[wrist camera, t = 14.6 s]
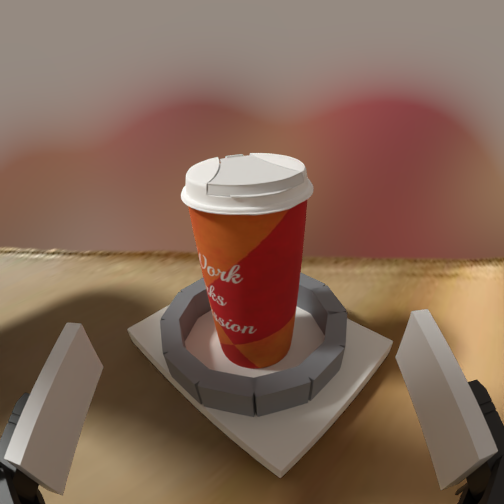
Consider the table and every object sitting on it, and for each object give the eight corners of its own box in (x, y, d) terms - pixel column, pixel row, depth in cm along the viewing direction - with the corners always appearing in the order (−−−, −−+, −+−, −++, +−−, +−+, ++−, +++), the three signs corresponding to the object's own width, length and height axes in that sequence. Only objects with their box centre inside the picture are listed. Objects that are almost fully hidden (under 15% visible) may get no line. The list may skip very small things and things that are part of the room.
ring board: (131, 340, 28) (118, 307, 25) (240, 275, 36) (238, 243, 34) (280, 478, 16) (281, 456, 14) (389, 353, 25) (400, 318, 23)
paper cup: (201, 320, 28) (174, 160, 20) (285, 303, 29) (285, 147, 22) (218, 392, 21) (183, 199, 14) (320, 365, 23) (340, 178, 15)
